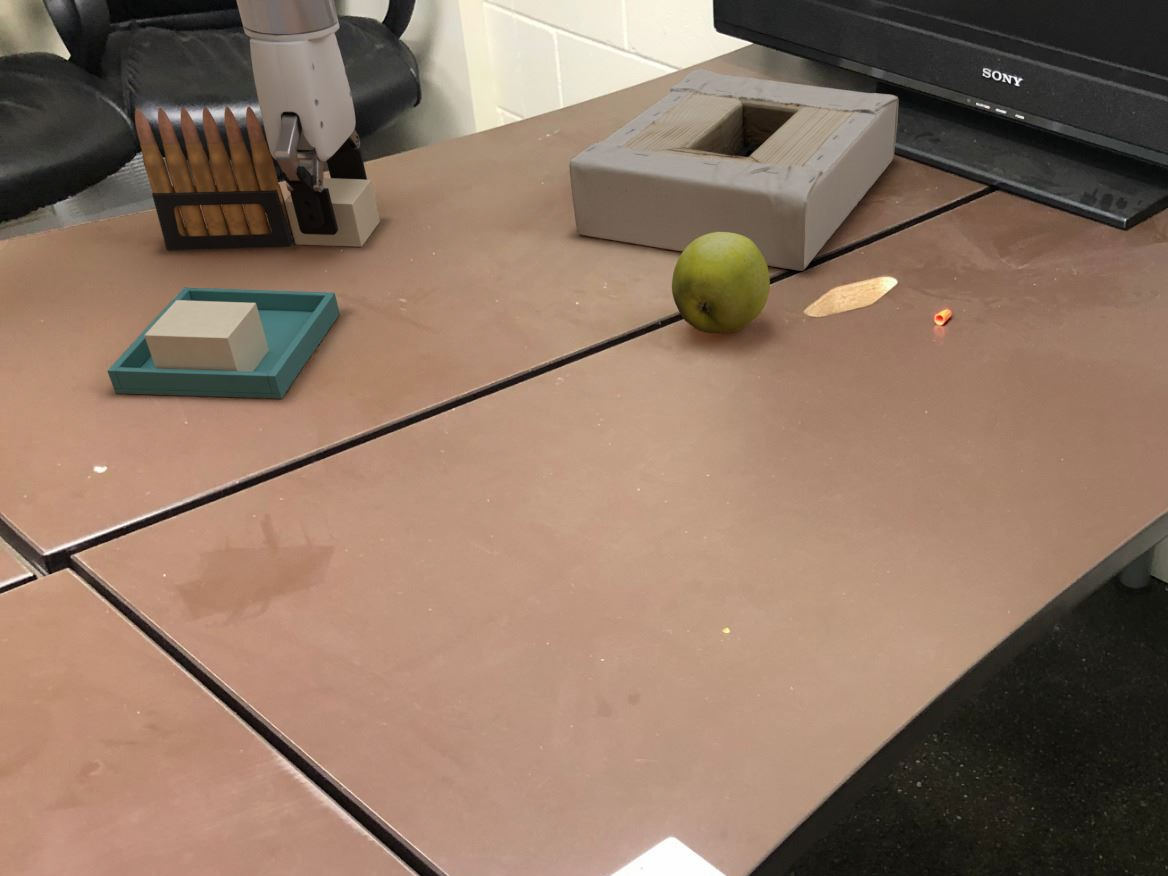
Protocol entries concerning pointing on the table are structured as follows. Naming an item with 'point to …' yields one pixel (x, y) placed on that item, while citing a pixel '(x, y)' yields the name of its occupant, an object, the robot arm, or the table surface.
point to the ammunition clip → (214, 185)
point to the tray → (291, 341)
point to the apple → (720, 282)
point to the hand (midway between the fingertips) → (336, 212)
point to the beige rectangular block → (343, 214)
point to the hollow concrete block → (737, 166)
